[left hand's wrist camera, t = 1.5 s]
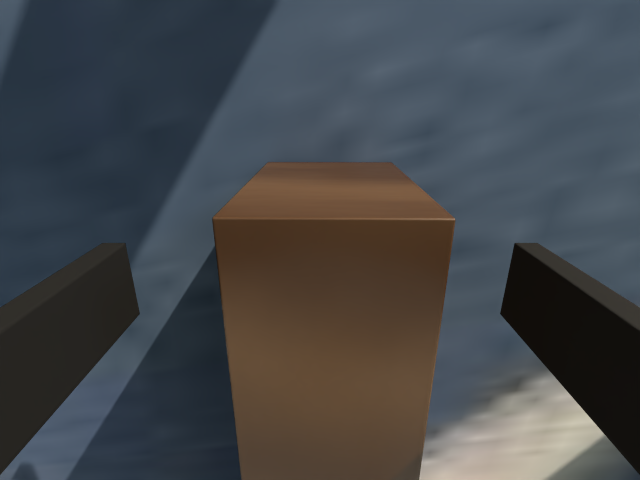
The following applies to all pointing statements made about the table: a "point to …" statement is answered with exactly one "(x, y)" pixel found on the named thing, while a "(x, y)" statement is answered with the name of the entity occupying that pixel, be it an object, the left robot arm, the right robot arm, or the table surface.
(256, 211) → the bar
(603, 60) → the table surface
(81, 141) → the table surface
